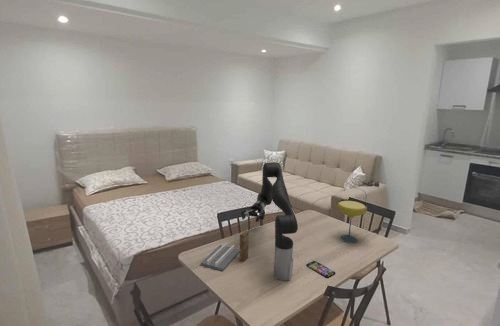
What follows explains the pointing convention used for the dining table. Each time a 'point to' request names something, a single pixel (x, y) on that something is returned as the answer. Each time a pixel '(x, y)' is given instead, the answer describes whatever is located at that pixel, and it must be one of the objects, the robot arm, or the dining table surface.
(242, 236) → the brown wooden block
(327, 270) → the smartphone
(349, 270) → the dining table surface
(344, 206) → the cocktail glass
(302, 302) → the dining table surface
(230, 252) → the track plinth
